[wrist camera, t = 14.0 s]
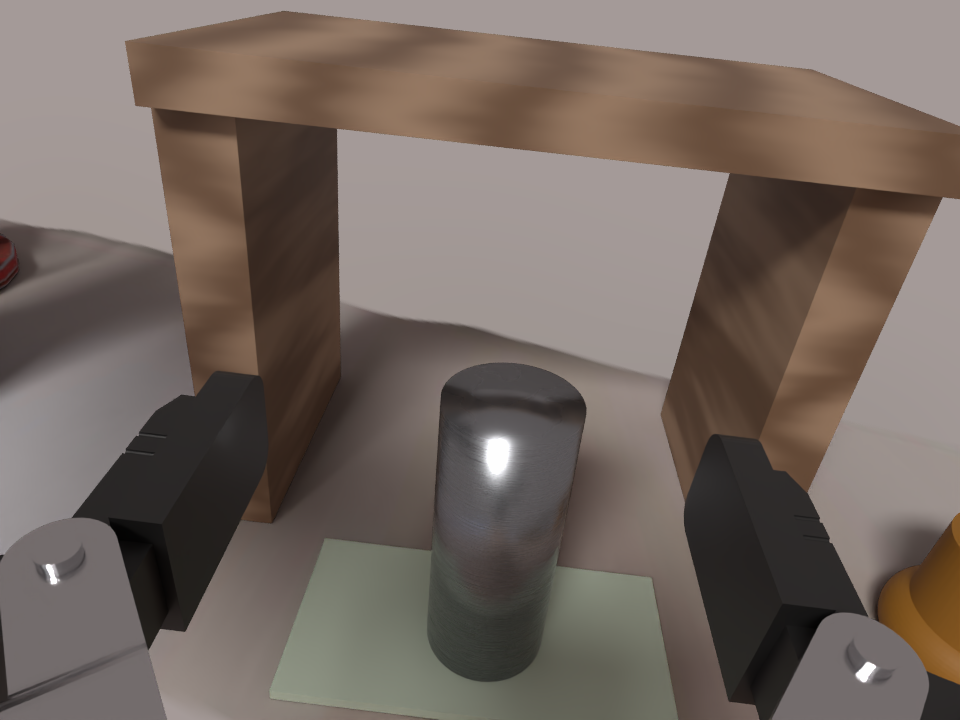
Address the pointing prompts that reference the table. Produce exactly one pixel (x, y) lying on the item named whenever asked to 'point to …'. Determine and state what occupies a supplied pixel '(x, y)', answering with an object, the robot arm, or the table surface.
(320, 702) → the mat
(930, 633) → the ornamental finial
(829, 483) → the table surface
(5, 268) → the hourglass
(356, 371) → the table surface
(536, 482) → the canister
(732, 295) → the shelf
